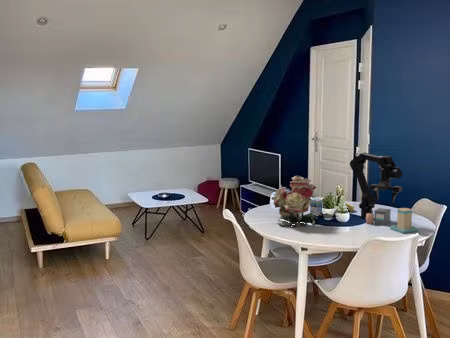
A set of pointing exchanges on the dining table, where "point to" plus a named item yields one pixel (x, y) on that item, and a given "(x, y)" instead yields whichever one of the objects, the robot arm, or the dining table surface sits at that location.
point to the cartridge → (369, 218)
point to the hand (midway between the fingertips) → (385, 201)
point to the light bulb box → (316, 206)
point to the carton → (404, 218)
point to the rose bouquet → (295, 202)
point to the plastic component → (349, 207)
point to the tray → (413, 229)
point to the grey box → (382, 216)
